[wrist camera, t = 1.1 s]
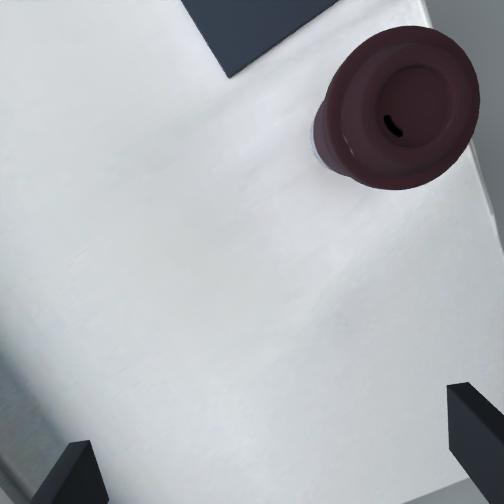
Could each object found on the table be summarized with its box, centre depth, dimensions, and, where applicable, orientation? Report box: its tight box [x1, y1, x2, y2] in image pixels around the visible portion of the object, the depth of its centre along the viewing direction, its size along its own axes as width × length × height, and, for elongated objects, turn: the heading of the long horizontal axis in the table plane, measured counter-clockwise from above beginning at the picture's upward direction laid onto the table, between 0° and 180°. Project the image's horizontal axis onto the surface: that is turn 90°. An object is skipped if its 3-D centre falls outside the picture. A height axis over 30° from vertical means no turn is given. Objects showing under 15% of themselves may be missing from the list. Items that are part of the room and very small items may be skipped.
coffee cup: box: [310, 26, 480, 190], centre depth 27 cm, size 10×10×15 cm
